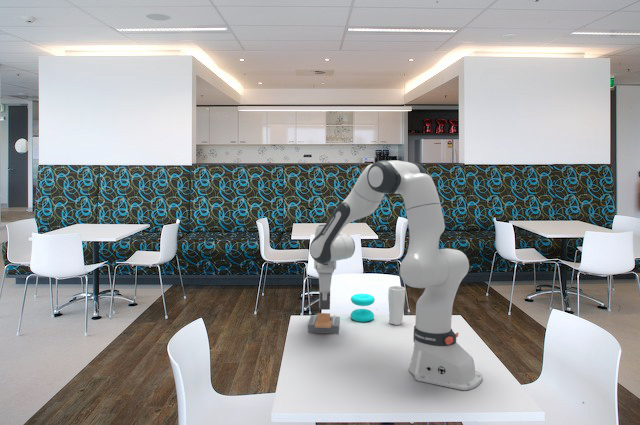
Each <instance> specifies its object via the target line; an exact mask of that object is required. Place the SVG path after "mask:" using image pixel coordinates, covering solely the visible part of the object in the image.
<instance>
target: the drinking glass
mask: <svg viewBox="0 0 640 425" xmlns="http://www.w3.org/2000/svg"><path fill="white" fill-rule="evenodd" d="M387 296H388V312H389V315H388V316H389V324H391V325H393V324H394V326H400V325H402V324H403V319H404V318H403V317H404V310H405V299H406V288H405V287H404V286H402V285H401V286H400V285H392V286H389V287H388V294H387Z"/></svg>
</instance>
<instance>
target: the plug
mask: <svg viewBox="0 0 640 425" xmlns="http://www.w3.org/2000/svg"><path fill="white" fill-rule="evenodd" d="M318 287H319V289H318V290H319V291H318V292H319V294H318V297H319V298H318V308H319V310H320V311H321V310H324V311H325V310H331V291H330V292H329V293H327V300H322V293H321V292H320V286H318Z"/></svg>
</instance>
